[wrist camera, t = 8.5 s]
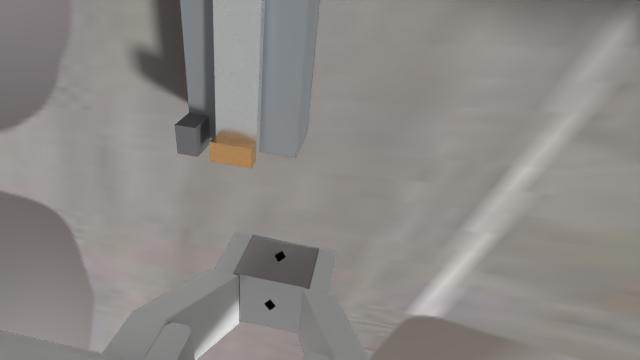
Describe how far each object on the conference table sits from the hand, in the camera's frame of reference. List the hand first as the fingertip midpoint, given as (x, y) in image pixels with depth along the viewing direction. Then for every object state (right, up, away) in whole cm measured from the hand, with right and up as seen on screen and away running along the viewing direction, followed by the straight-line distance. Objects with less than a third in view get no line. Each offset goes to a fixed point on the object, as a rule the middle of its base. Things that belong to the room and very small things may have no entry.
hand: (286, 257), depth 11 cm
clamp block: (-5, +17, +28) cm, 33 cm away
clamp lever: (-6, +12, +23) cm, 27 cm away
